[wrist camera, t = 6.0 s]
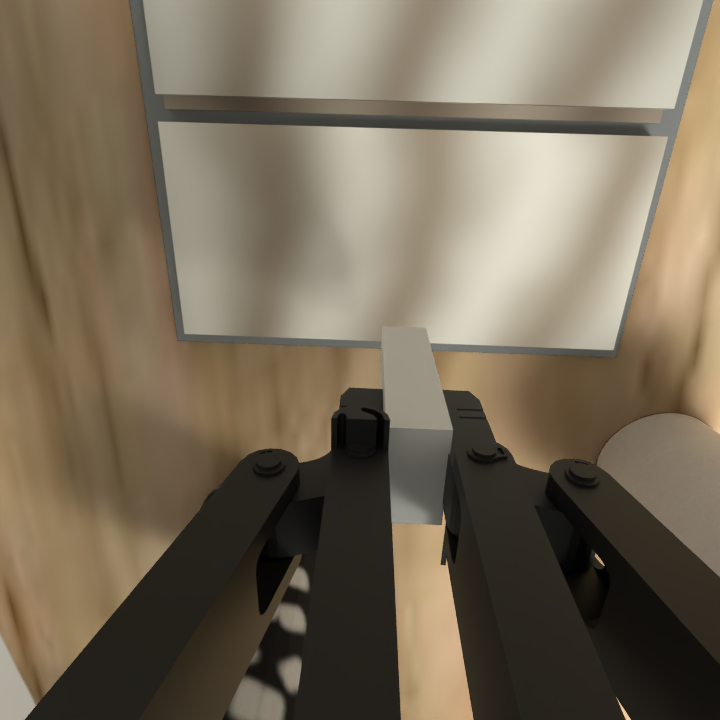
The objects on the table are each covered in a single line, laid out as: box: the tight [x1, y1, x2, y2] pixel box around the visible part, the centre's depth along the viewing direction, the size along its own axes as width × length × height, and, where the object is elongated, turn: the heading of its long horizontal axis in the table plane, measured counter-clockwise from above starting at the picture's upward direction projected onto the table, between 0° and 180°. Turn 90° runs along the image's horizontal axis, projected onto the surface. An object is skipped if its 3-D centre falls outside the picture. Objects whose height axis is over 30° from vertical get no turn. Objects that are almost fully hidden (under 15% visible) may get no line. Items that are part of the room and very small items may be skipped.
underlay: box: [130, 0, 713, 358], centre depth 20 cm, size 22×21×1 cm
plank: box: [158, 122, 668, 350], centre depth 22 cm, size 20×9×1 cm, turn 88°
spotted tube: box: [201, 485, 317, 720], centre depth 22 cm, size 8×8×20 cm
